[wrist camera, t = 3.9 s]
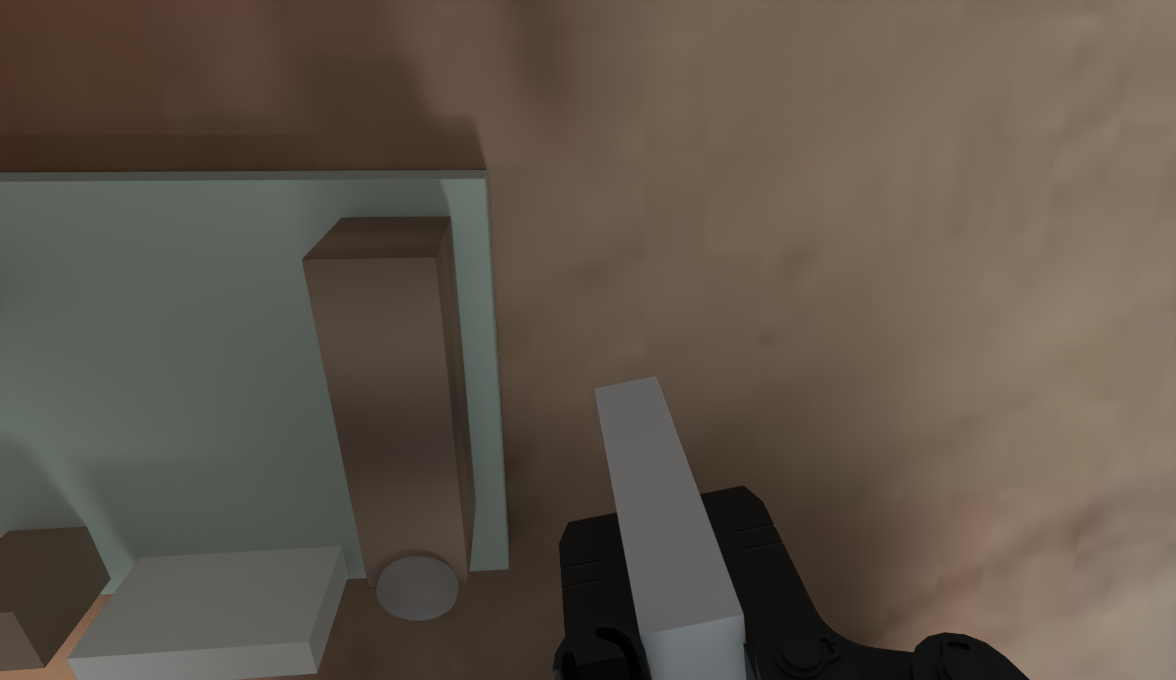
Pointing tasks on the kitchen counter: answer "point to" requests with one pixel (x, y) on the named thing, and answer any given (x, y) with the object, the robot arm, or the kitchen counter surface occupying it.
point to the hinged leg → (399, 402)
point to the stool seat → (197, 414)
